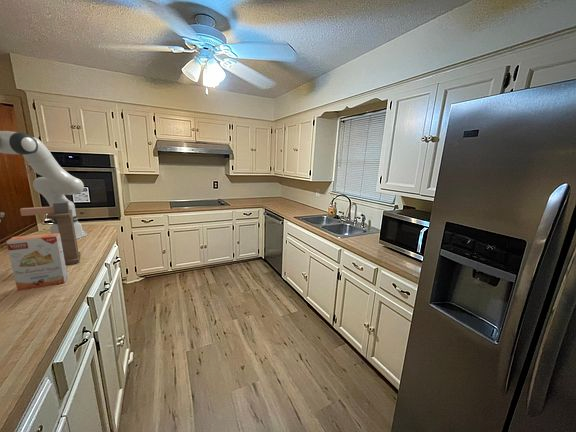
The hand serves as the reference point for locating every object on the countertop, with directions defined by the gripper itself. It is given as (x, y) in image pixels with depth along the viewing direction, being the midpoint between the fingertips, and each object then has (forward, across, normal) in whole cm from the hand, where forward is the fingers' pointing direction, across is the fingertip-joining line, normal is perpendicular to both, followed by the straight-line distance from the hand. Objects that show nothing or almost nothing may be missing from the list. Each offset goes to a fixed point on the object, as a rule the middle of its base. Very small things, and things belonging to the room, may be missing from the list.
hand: (2, 218), depth 105 cm
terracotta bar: (+14, 0, -3) cm, 15 cm away
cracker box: (+15, -28, +20) cm, 37 cm away
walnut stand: (+23, -3, +20) cm, 31 cm away
